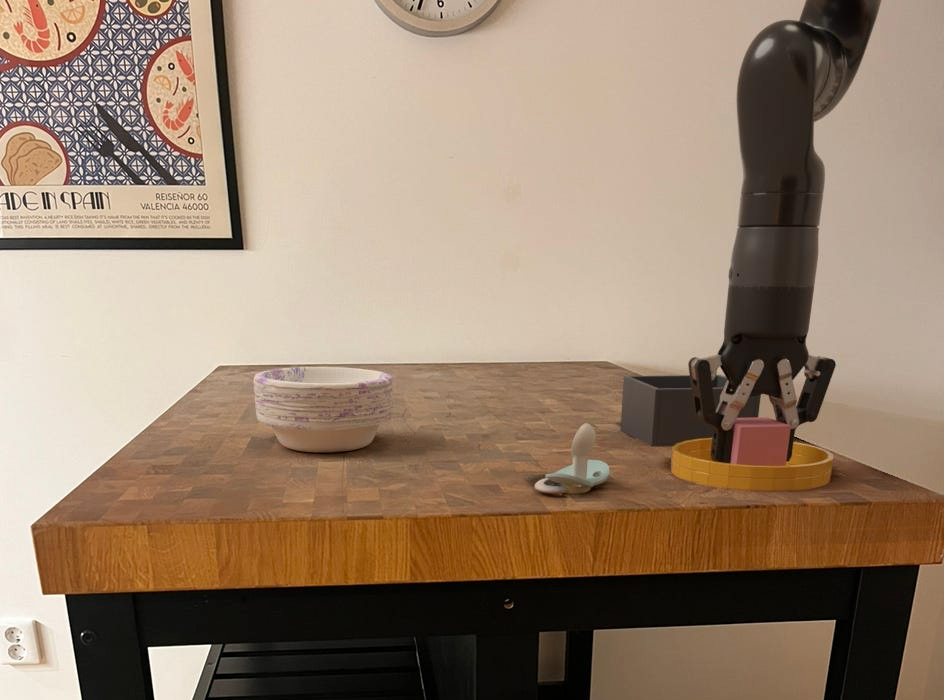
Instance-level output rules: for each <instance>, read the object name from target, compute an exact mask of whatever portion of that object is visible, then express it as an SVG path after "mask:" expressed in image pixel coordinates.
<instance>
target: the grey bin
mask: <svg viewBox="0 0 944 700" xmlns="http://www.w3.org/2000/svg"><path fill="white" fill-rule="evenodd" d="M727 380H728V379H727V378H726V376H725V375H721V374H716V377H715V379H714V380H712V386H713V394H714V402H715V410H716V409H717V407H718V405H719V403H720V395H721V393H722V391H723V389H724V386H725V384H726V382H727ZM730 390H731V389H730ZM761 397H762V394H761V395H757V396H749V398H748V400H747V402H746V404H745V406H744V407H743V408H742V409H741V410H740V412H739V414H738V416H737V418H758V417H759V415H760V407H761V406H760V405H761V399H762V398H761ZM620 431H621V432H623V433H624V434H626V435H627V436H629V437H631V438H632V439H635V440H636V439H638V440H639V441H641V442H643V443H644V444H646V445H648V446H650V447H651V448H652V447H656V448H657V447H673V446H674V445H675V444H677V443H680V442H683V441H687V440H693V439H701V438H712V436H713V427H712V426H711V424H708V423H705V422H703V421H701V420H699V419H697V418H696V417H695V411H694V404H693V396H692V389H691V381H690V374H684V375H683V374H677V375H673V374H672V375H669V374H668V375H624V376H623V384H622V400H621V416H620Z"/></svg>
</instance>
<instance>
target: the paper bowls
mask: <svg viewBox="0 0 944 700" xmlns="http://www.w3.org/2000/svg"><path fill="white" fill-rule="evenodd" d="M252 383H253V391H254V392H253V393H254V403H255V404H254V405H255V416H256V420H257V421H258V422H259V423H261V424H264V425H267V426H269V427H271V428H272V430H273V432H274V434H275V436H276V438H277V440H278V442H279V444H281V445H282V446H283V447H286V448H287V449H290V450H293V451H298V452H306V453H322V454H323V453H324V454H325V453H326V454H327V453H342V452H351V451H355V450H359V449H362V448H366V447H367V446H368V445H370V444H371V443H372V442H373V441H374V439H375V436H376V434H377V432H378V429H379V426H380V425H381V424H385V423H389V422H390V421H391V420H392V419H393V417H394V416H393V414H394V388H393V387H394V385H393V383H394V379H393V376H392V375H390V374H389V373H386V372H383V371H379V370H373V369H367V368H357V367H356V368H354V367H341V366H340V367H339V366H300V367H298V366H296V367H284V368H275V369H269V370H265V371H261V372H258V373H256V374H255V375H254V376H253V382H252Z"/></svg>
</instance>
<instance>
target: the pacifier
mask: <svg viewBox="0 0 944 700" xmlns="http://www.w3.org/2000/svg"><path fill="white" fill-rule="evenodd" d="M571 444H572V445H571V448H570V456H571V458H572V464H569V465H567V466H565V467H563V468H561V469H559V470H556V471H555V472H552V473H545V474H544V475H545V477H544V478H542V479H540V480H538V481H537V482H536V483H534V488H535V490H536V491H538V492H540V493H544V494H562V495H564V494H570V495H571V494H572V495H573V494H575V495H576V494H583V493H586V492H589V491H591V489H592V488H593V487H594V486H598V485H600V484H603V483H604V482H606V481H607V480H608V478H609V476H610V472H611V471H610V466H609V465H608V464H607V462H605V461H603V460H599V459H589V454H590V453H591V452H592V450H593V449H594V446H595V444H596V431H595V429H594V427H593V426H592V425H591V424H590V423H587V422H585V423H583V424H582V425H580V426H579V428H578V429H577V431H576V433H575V435H574V438H573V440H572V443H571ZM588 459H589V460H588ZM554 484H559V485H556V486H555V485H554Z"/></svg>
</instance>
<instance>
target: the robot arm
mask: <svg viewBox="0 0 944 700" xmlns="http://www.w3.org/2000/svg"><path fill="white" fill-rule="evenodd" d="M881 3H882V0H805V2H804V5H803V8H802V11H801V13H800V17H799V20H797V19H796V20H795V19H782V20H778V21H775V22H772V23H770V24H769V25H767V26H766V27H764V28H763V29H762V30H761V31H759V33H757V34H756V36H754V38H753V39H752V41H751V42H750V44H749V45H748V47H747V49H746V51H745V54H744V56H743V59H742V62H741V65H740V68H739V73H738V77H737V85H736V98H735V100H736V101H735V102H736V103H735V104H736V119H737V131H738V146H739V154H740V161H741V166H742V182H741V189H740V196H739V204H738V205H739V206H738V216H737V228H736V233H735V238H734V243H733V246H732V252H731V256H730V257H731V258H730V267H729V268H728V269H729V270H728V273H727V277H728V286H727V287H728V288H727V298H726V305H725V306H726V308H725V319H724V328H723V342H722V344H721V346H720V347H719V349H718V352H717V354H714V355H710V356H706V357H702V358H700V357H697V356H695V357H691V358H690V359H689V361H688V365H687V366H688V375H690V381H691V389H692V396H693V404H694V411H695V417H696V418H697V419H699V420H701V421H703V422H705V423H708V424H711V426H712V427H713V436H712V446H711V458H712V460H713V461H715V462H722V463H730V462H731V453H732V444H733V434H734V431H732V430H731V428H732V427H733V425H734V423H735V421H736V418H737V416H738V414H739V412H740V410H741V409H742V408H743V407H744V406H745V404H746V402H747V400H748V398H749V396H757V395H761V396H762V395H766V396H768V400H769V402H770V404H771V405H772V407H773V408H772V409H773V412H774V416H775V420H777V421H779V422H782V423H785V424H787V425H790V426H791V429H790V436H789V444H788V452H787V459H786V462H789V461H790V459H791V457H792V450H793V442H795V436H796V435H795V434H796V430H797V428H798V427H799V426H800V425H803V424H805V423H813V422H815V421H816V420H817V419H818V416H819V413H820V411H821V408H822V405H823V402H824V399H825V397H826V394H827V391H828V389H829V386H830V384H831V380H832V377H833V375H834V372H835V369H836V365H837V363H836V361H835V360H834V359H833V358H829V357H826V356H819V355H818V356H816V355H812V354H809V353H810V352H809V350H808V347H807V336H808V334H809V330H810V322H811V314H812V308H813V307H812V306H813V301H814V300H813V299H814V291H815V283H816V277H817V269H818V267H817V266H818V261H819V231H820V228H819V226H820V222H821V215H822V207H823V199H824V191H825V185H826V184H825V181H826V169H825V164H824V162H823V159H822V158H821V157H820V156H819V155H818V153H817V151H816V150H815V142H814V141H815V140H814V136H815V135H814V133H815V129H814V128H815V123H816V122H818V121H820V120H822V119H824V118H825V117H826V116H828V115H829V114H830V113H831V112H832V111H834V109H835V108H836V107H837V106H838V105H839V104H840V102H841V101H842V100H843V98H844V97H845V95H846V94H847V92H848V90H849V89H850V87H851V85H852V84H853V82H854V80H855V78H856V76H857V74H858V71H859V69H860V67H861V64H862V61H863V58H864V55H865V53H866V50H867V47H868V44H869V41H870V38H871V36H872V33H873V30H874V27H875V24H876V21H877V18H878V14H879V11H880V7H881ZM719 368H720V369H721V371H722V373H723V374H724V376H725V377H726V378H727V379H728V380H727V382H726V384H725V386H724V389H723V391H722V393H721V395H720V403H719V405H718V407H717V409H716V410H715V402H714V394H713V386H712V380H714V379H715V377H716V375H718V374H717V372H718V369H719ZM803 368H804V370H803ZM802 370H803V371H804V372H803V374H804V377H805V380H804V383H803V386H802V389H801V392H800V394H799V397H798V399H797V393H796V389H795V385H794V379H796V377H797V376H798V375H799V373H800V372H801V371H802ZM730 389H731V390H730Z"/></svg>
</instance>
